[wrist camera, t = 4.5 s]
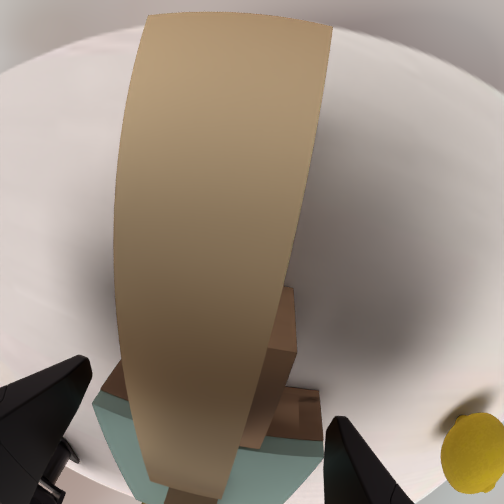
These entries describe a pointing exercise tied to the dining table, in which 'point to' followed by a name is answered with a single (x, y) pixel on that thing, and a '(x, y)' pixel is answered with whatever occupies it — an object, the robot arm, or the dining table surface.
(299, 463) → the lid
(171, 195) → the tan rectangular bar
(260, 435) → the brown box
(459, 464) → the lemon
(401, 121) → the dining table surface
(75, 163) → the dining table surface
